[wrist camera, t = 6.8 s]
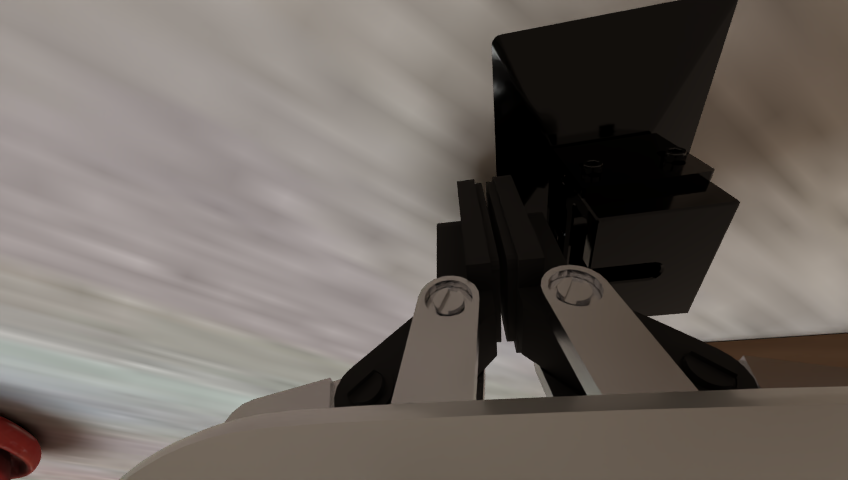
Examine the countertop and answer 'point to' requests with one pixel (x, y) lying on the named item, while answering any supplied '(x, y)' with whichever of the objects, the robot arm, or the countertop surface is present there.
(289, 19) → the countertop surface
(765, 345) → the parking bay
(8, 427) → the plant pot
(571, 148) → the black piece
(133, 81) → the countertop surface
